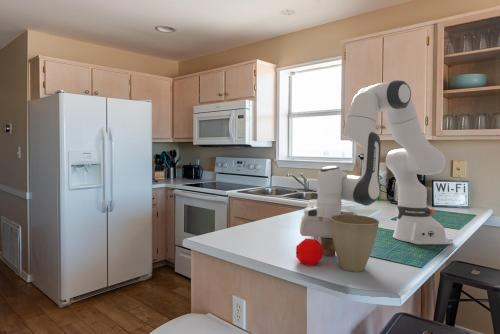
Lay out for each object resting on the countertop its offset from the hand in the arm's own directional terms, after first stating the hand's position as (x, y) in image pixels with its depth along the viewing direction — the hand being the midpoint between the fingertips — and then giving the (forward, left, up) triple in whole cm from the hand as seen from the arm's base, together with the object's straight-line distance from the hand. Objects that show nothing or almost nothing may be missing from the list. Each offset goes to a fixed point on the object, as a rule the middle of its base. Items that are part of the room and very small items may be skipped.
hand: (327, 248), depth 126 cm
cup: (+1, -29, -2) cm, 29 cm away
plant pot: (-7, +14, -2) cm, 15 cm away
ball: (+7, +11, -2) cm, 13 cm away
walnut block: (0, 0, -2) cm, 2 cm away
